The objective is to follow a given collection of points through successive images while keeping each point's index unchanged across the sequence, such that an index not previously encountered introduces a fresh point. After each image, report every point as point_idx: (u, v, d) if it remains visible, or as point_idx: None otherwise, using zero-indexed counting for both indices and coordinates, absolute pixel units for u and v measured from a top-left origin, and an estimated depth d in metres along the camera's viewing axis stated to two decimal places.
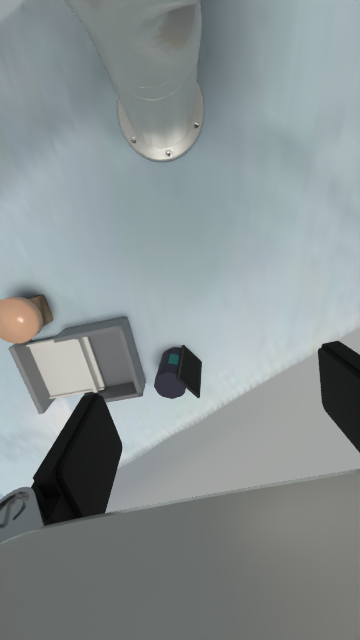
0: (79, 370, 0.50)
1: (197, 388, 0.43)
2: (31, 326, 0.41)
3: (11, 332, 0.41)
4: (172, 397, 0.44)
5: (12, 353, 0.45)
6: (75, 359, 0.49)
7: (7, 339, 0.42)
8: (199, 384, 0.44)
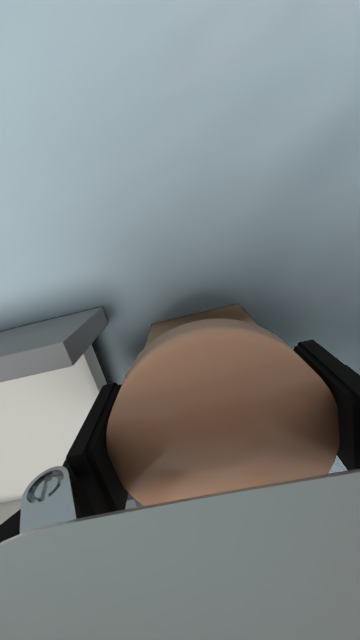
0: (16, 473, 0.16)
1: None
2: None
3: (168, 433, 0.08)
4: None
5: (37, 355, 0.09)
6: (53, 466, 0.16)
7: (123, 411, 0.08)
8: None
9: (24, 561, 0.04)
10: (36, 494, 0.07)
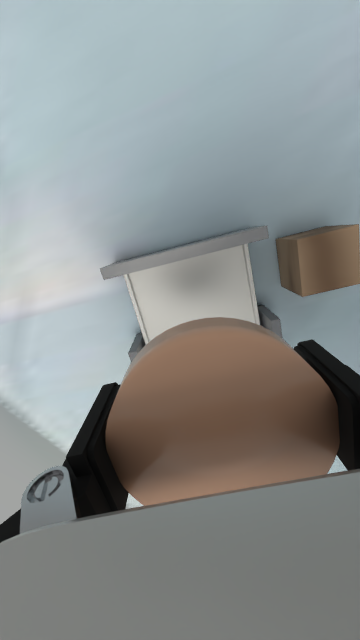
0: None
1: None
2: None
3: (167, 432, 0.08)
4: None
5: (253, 232, 0.21)
6: None
7: (123, 410, 0.08)
8: None
9: (24, 561, 0.04)
10: (36, 494, 0.07)
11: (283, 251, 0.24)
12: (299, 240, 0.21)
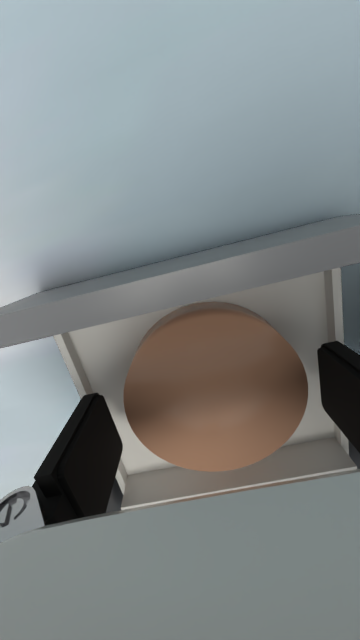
0: None
1: None
2: (197, 457, 0.11)
3: (172, 390, 0.10)
4: None
5: None
6: None
7: (137, 372, 0.10)
8: None
9: (24, 561, 0.04)
10: None
11: None
12: None
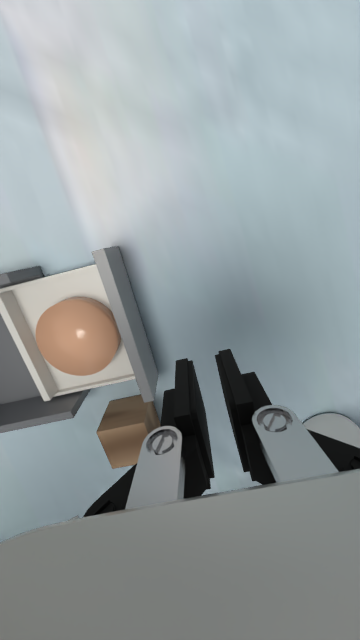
0: None
1: None
2: (44, 334, 0.24)
3: (79, 322, 0.23)
4: None
5: (148, 391, 0.24)
6: None
7: (86, 308, 0.23)
8: None
9: (24, 561, 0.04)
10: (154, 444, 0.07)
11: (138, 403, 0.28)
12: (143, 424, 0.25)
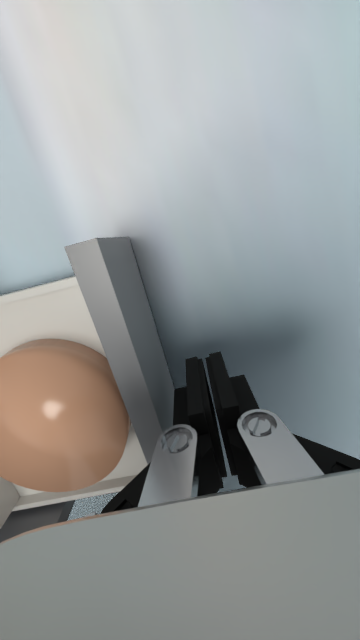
0: None
1: None
2: None
3: (48, 398, 0.11)
4: None
5: None
6: None
7: (62, 370, 0.11)
8: None
9: (24, 561, 0.04)
10: (168, 442, 0.07)
11: None
12: None
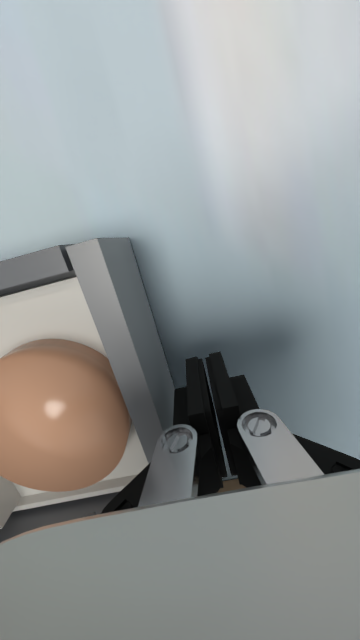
0: None
1: None
2: None
3: (49, 398, 0.11)
4: None
5: None
6: None
7: (63, 370, 0.11)
8: None
9: (24, 561, 0.04)
10: (168, 442, 0.07)
11: None
12: None
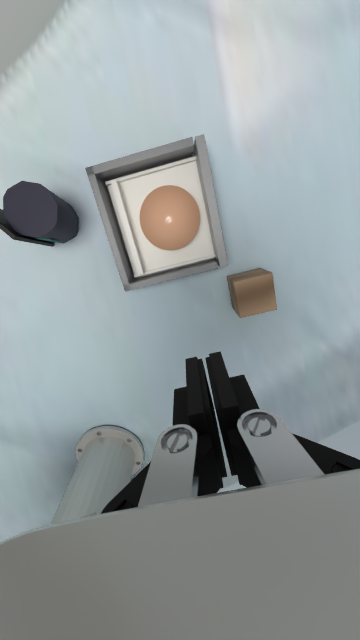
0: None
1: None
2: (146, 213, 0.31)
3: (174, 203, 0.31)
4: (22, 183, 0.26)
5: (224, 256, 0.31)
6: None
7: (180, 191, 0.30)
8: None
9: (24, 561, 0.04)
10: (168, 442, 0.07)
11: (255, 271, 0.35)
12: (271, 274, 0.32)
